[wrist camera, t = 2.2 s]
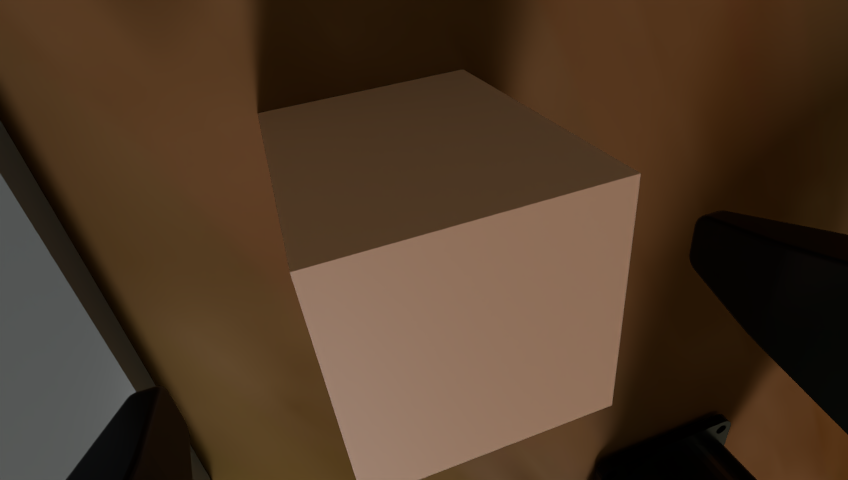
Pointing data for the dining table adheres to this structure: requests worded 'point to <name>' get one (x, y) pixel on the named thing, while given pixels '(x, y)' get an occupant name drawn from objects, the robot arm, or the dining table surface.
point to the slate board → (53, 339)
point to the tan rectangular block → (451, 266)
